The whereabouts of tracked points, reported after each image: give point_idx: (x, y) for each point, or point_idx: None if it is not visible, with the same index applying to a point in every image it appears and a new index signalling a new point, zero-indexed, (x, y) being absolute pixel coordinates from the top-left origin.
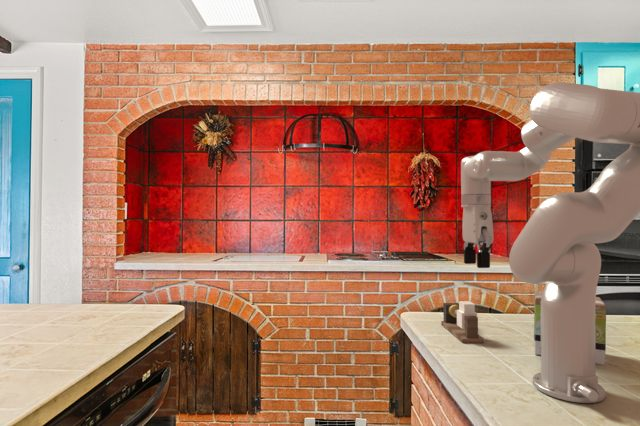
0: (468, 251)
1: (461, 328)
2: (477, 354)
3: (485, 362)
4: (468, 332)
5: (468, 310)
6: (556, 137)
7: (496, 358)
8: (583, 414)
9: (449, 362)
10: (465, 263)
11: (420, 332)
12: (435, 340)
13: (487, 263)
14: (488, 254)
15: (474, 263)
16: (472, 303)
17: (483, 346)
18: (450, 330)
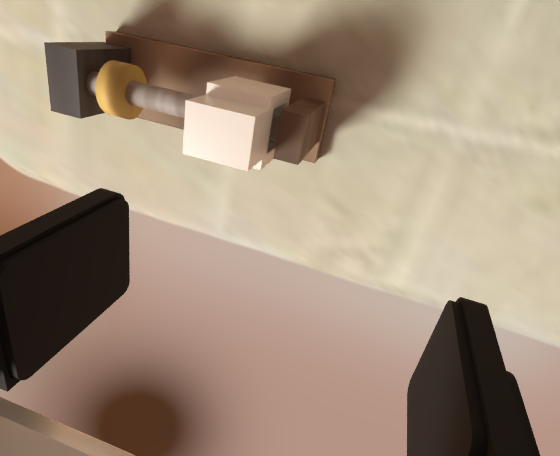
0: (28, 340)
1: (202, 89)
2: (435, 181)
3: (509, 204)
4: (313, 144)
5: (261, 143)
6: None
7: (496, 144)
8: None
9: None
10: (125, 283)
11: (193, 222)
12: (273, 224)
13: (510, 379)
14: (513, 450)
15: (122, 203)
16: (236, 116)
17: (371, 106)
18: None
